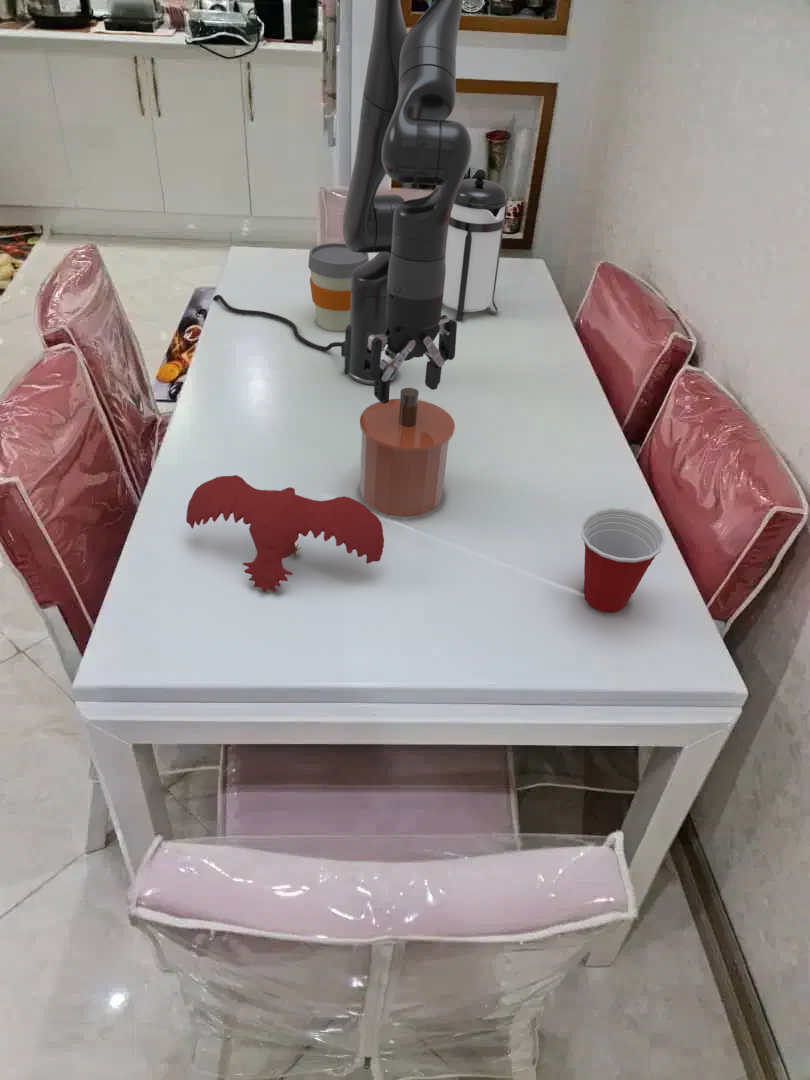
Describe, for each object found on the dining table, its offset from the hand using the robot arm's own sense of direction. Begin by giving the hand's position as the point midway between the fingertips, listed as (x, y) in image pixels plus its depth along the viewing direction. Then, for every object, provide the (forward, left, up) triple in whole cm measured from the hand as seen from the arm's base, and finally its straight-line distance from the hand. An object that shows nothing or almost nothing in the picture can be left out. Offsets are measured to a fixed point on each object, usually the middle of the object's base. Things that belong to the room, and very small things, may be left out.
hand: (406, 394), depth 117 cm
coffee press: (-23, +71, -17) cm, 77 cm away
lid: (+1, -1, -5) cm, 5 cm away
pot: (+1, -1, -17) cm, 17 cm away
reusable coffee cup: (-41, +47, -17) cm, 65 cm away
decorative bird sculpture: (-5, -25, -17) cm, 31 cm away
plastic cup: (+36, -7, -17) cm, 40 cm away
